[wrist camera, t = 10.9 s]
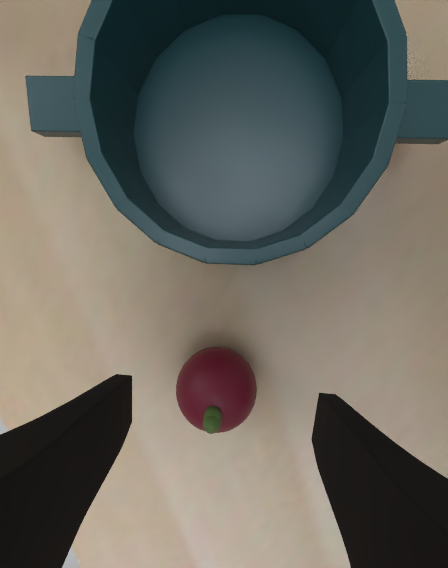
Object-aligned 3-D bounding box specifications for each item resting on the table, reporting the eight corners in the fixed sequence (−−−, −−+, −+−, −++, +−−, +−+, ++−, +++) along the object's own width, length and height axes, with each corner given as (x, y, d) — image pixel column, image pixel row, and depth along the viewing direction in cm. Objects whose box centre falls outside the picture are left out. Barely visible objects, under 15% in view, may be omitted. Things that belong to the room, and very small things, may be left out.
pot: (378, 256, 20) (437, 272, 14) (93, 246, 20) (34, 256, 15) (415, 4, 16) (513, -116, 11) (76, 4, 17) (-7, -106, 11)
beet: (268, 374, 22) (281, 439, 15) (213, 411, 23) (203, 487, 16) (224, 321, 21) (218, 365, 15) (170, 361, 22) (141, 420, 16)
